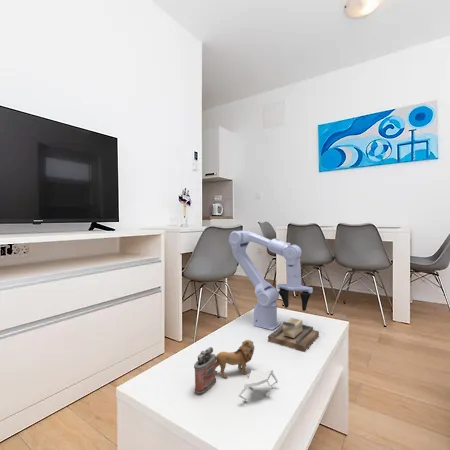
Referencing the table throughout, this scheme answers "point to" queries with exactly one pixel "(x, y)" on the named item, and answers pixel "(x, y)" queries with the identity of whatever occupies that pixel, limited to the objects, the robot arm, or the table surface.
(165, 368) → the table surface
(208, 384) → the lighter
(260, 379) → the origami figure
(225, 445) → the table surface
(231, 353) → the lion figurine
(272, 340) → the dock
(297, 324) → the beige lidded box
